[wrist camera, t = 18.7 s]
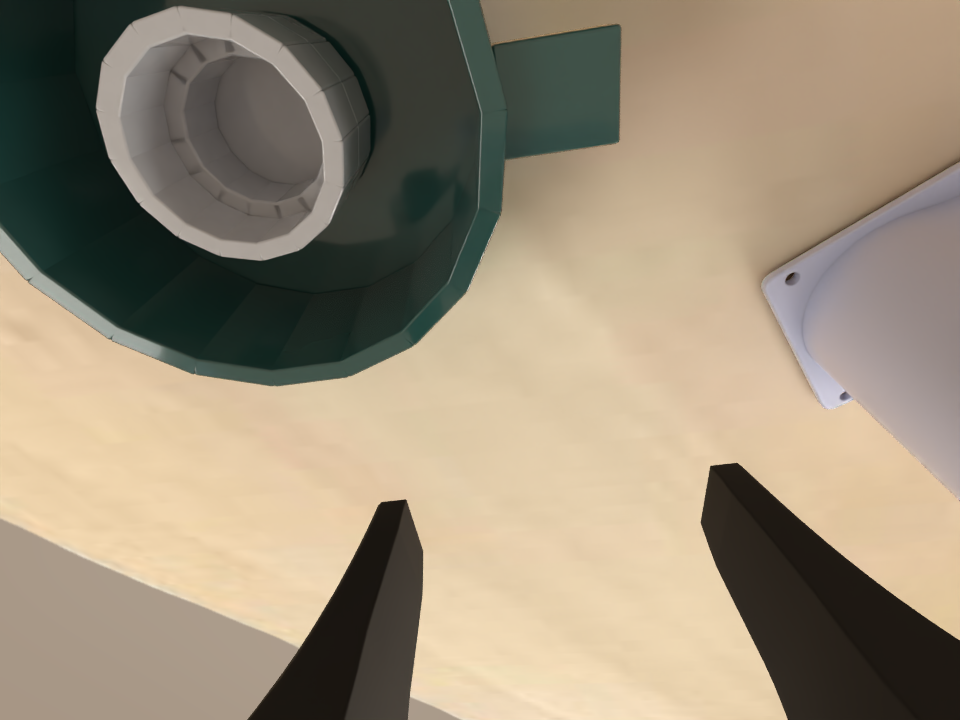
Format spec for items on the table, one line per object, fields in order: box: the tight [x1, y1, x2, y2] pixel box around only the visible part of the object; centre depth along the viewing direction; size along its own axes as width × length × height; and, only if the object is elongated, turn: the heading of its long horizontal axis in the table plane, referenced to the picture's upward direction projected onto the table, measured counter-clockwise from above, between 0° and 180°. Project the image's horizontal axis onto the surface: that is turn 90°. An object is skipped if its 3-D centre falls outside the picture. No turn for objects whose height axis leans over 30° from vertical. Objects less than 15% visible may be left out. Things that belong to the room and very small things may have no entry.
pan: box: [0, 0, 621, 386], centre depth 13 cm, size 13×18×5 cm
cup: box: [96, 5, 370, 261], centre depth 13 cm, size 5×5×4 cm
